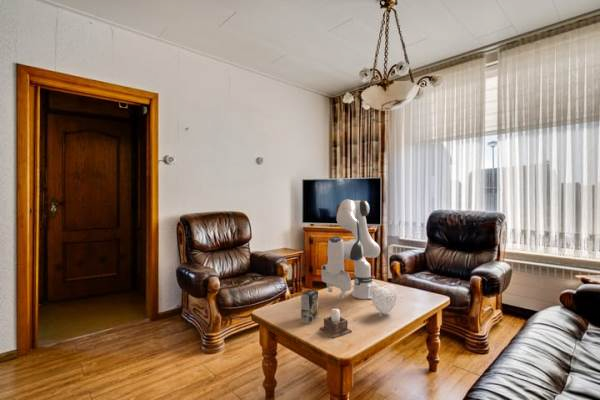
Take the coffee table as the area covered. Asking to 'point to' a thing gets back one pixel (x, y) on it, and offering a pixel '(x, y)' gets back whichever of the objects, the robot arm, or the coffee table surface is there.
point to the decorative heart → (384, 298)
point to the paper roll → (335, 315)
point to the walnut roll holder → (335, 327)
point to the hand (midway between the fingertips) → (336, 294)
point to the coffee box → (309, 306)
